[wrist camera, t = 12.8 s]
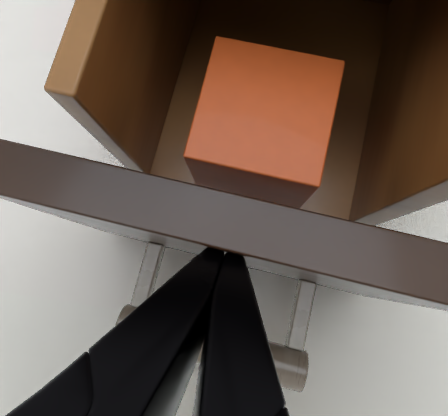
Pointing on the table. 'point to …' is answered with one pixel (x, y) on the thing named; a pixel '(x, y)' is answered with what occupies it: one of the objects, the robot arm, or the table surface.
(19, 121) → the table surface
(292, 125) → the block
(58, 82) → the drawer
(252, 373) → the robot arm
